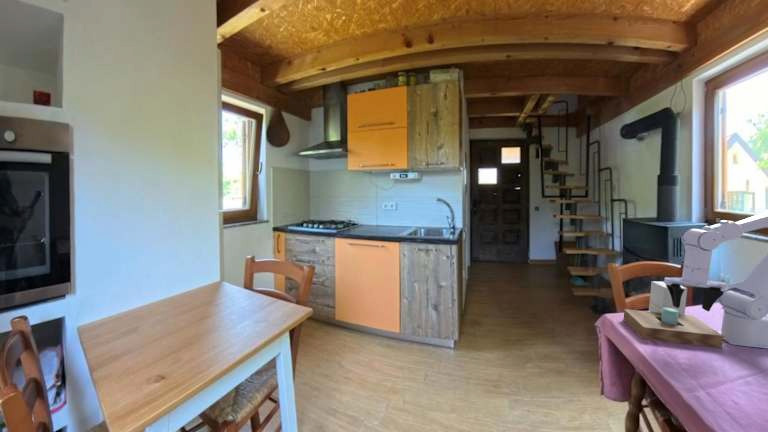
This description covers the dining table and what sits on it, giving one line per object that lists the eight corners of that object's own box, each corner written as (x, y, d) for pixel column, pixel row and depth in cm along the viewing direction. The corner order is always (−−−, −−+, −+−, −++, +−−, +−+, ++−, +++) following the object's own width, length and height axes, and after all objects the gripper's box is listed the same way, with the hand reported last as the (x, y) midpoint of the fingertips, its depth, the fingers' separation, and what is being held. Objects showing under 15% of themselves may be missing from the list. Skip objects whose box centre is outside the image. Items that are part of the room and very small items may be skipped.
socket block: (691, 326, 105) (692, 315, 104) (721, 348, 92) (723, 335, 91) (623, 319, 111) (624, 309, 110) (642, 338, 98) (644, 327, 97)
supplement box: (684, 321, 108) (688, 288, 107) (661, 320, 110) (664, 287, 108) (669, 313, 116) (673, 281, 114) (647, 311, 117) (650, 280, 115)
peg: (671, 330, 103) (673, 308, 102) (679, 336, 99) (681, 313, 98) (657, 329, 104) (659, 307, 103) (664, 334, 100) (666, 311, 99)
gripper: (675, 268, 93) (670, 310, 94) (736, 273, 88) (729, 316, 90) (662, 262, 99) (657, 301, 101) (718, 266, 95) (712, 307, 97)
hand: (690, 308), depth 96 cm, fingers open, 7 cm apart
